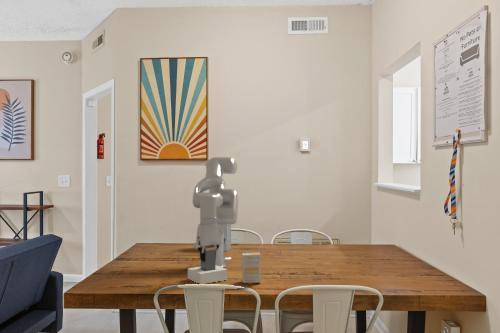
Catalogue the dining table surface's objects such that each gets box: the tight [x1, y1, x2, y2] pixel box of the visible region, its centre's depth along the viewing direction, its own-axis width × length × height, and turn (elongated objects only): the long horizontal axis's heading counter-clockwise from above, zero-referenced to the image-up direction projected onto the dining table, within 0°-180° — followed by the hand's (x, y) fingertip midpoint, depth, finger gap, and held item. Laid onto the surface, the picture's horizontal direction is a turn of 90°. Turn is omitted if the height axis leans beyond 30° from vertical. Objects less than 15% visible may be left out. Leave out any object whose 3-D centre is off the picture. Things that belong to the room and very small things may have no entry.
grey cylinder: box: [200, 246, 216, 271], centre depth 187 cm, size 5×5×12 cm
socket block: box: [187, 265, 228, 285], centre depth 186 cm, size 14×12×5 cm
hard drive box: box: [219, 224, 232, 252], centre depth 257 cm, size 16×8×20 cm, turn 73°
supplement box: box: [241, 252, 262, 285], centre depth 183 cm, size 8×5×13 cm, turn 92°
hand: (208, 259), depth 187 cm, fingers closed on grey cylinder, 5 cm apart
